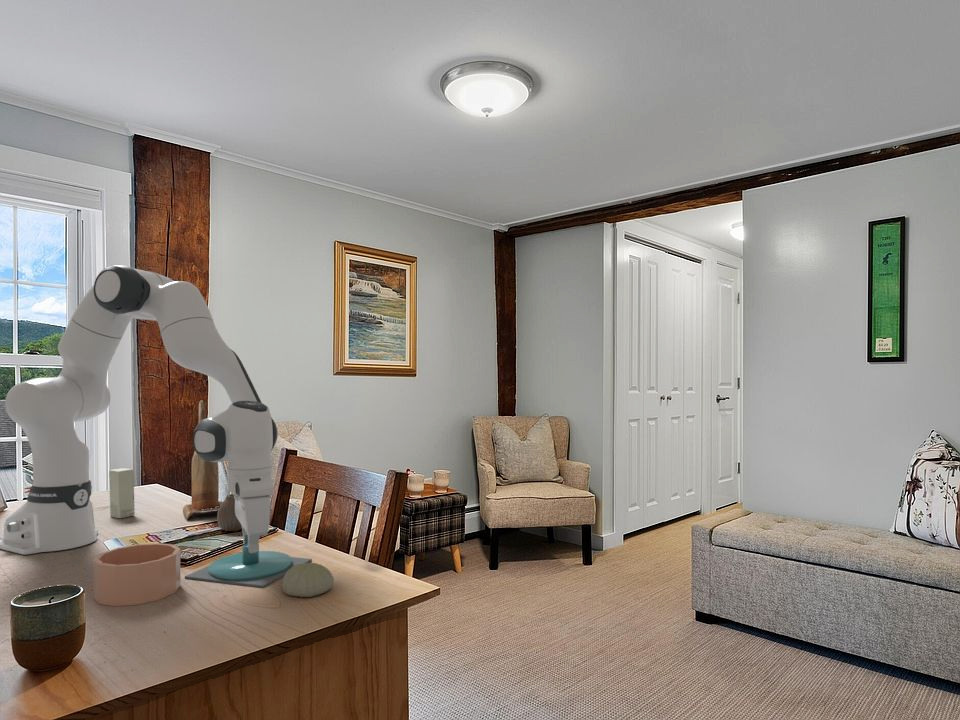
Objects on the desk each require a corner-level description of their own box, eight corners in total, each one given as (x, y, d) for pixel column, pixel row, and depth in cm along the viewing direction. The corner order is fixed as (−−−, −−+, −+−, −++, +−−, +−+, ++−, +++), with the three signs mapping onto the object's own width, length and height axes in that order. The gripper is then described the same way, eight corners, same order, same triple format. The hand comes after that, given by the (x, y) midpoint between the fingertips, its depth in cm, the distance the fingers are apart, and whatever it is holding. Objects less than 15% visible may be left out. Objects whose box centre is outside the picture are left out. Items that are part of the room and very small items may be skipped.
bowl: (76, 600, 117) (76, 561, 117) (137, 576, 130) (137, 541, 130) (138, 609, 113) (138, 569, 113) (195, 583, 126) (195, 546, 126)
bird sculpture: (223, 509, 189) (221, 398, 190) (231, 516, 179) (229, 399, 180) (181, 514, 183) (179, 400, 184) (187, 522, 173) (184, 401, 174)
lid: (190, 576, 129) (190, 553, 129) (242, 552, 144) (242, 532, 144) (260, 584, 124) (260, 560, 124) (306, 559, 140) (306, 538, 140)
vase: (236, 534, 161) (236, 498, 161) (211, 532, 163) (211, 497, 162) (251, 526, 168) (251, 492, 168) (227, 525, 169) (227, 491, 169)
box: (135, 515, 180) (135, 469, 180) (119, 519, 176) (119, 471, 176) (124, 513, 182) (124, 467, 182) (108, 516, 179) (108, 469, 179)
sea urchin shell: (310, 594, 115) (288, 557, 118) (288, 619, 118) (267, 582, 121) (346, 578, 123) (324, 544, 126) (325, 602, 126) (304, 568, 129)
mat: (184, 578, 129) (184, 576, 129) (240, 553, 145) (240, 551, 145) (263, 587, 124) (263, 585, 124) (311, 560, 140) (311, 558, 140)
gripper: (227, 473, 142) (227, 537, 142) (241, 491, 124) (241, 563, 124) (257, 471, 145) (257, 533, 145) (275, 487, 127) (275, 559, 127)
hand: (250, 547), depth 134 cm, fingers open, 5 cm apart
